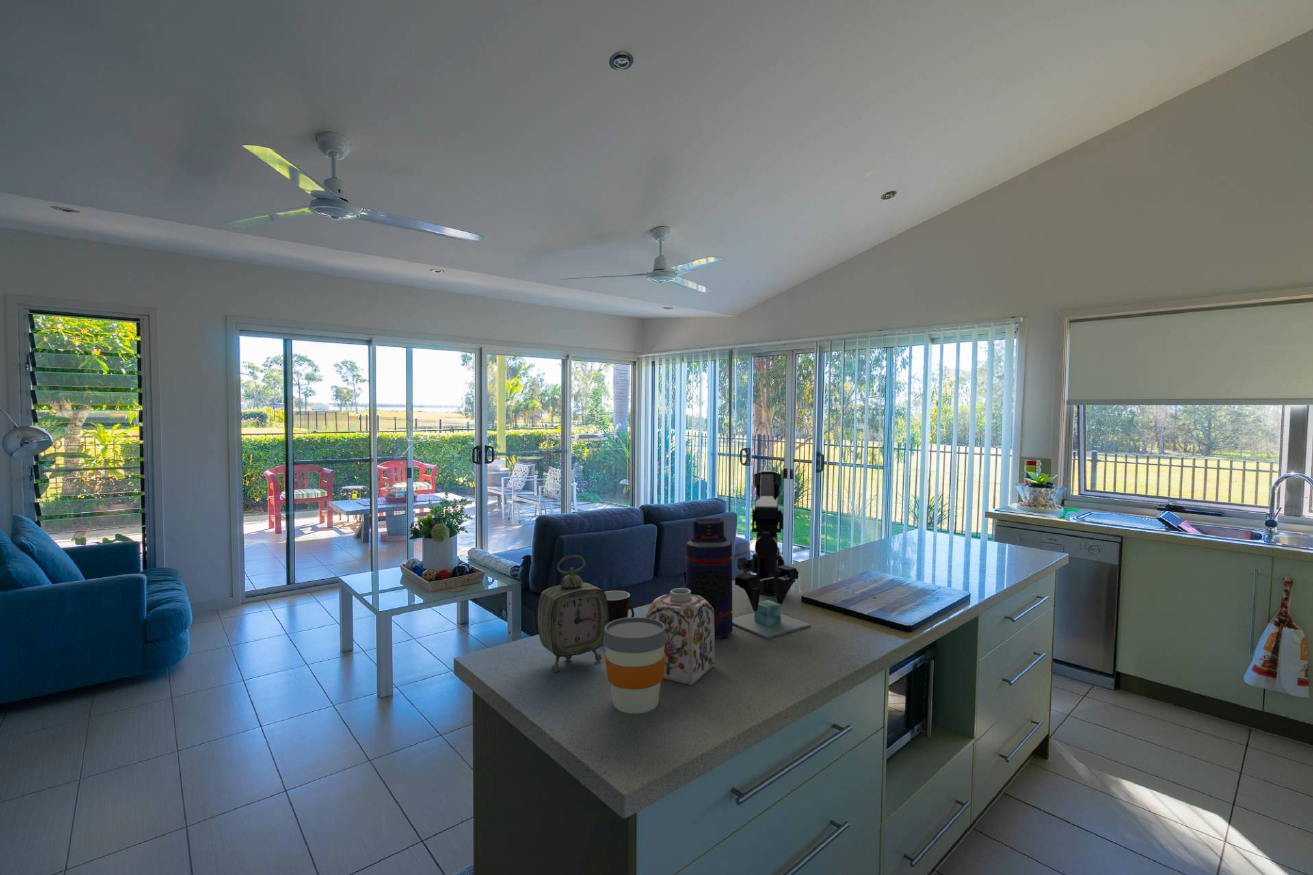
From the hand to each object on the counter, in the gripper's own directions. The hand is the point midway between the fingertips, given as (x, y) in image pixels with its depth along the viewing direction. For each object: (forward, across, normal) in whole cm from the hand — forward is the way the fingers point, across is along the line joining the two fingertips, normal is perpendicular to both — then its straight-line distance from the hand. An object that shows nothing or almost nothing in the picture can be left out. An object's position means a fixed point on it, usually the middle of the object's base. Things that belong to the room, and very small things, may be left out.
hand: (767, 608), depth 159 cm
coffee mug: (+5, +38, -17) cm, 42 cm away
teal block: (+4, 0, 0) cm, 4 cm away
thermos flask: (+5, +17, -4) cm, 18 cm away
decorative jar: (+5, +37, +11) cm, 39 cm away
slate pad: (+4, 0, 0) cm, 5 cm away
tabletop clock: (+5, +55, -7) cm, 56 cm away
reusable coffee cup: (+5, +53, +18) cm, 56 cm away
